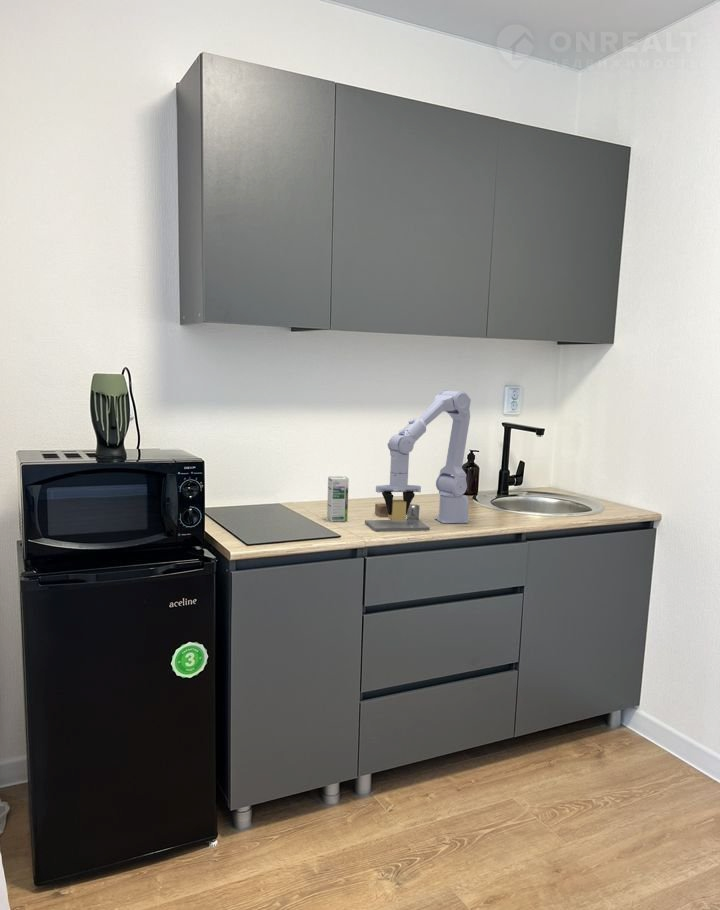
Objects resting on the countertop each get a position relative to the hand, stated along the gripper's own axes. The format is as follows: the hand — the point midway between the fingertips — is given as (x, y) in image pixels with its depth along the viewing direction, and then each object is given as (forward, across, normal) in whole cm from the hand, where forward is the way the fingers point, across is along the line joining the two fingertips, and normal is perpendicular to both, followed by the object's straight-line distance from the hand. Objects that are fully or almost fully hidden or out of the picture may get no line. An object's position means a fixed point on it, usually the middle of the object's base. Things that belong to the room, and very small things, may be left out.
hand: (397, 514), depth 225 cm
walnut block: (+4, -1, -18) cm, 18 cm away
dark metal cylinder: (+4, -9, -10) cm, 14 cm away
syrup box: (+4, +17, -12) cm, 21 cm away
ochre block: (+2, 0, 0) cm, 2 cm away
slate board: (+4, 0, 0) cm, 4 cm away
